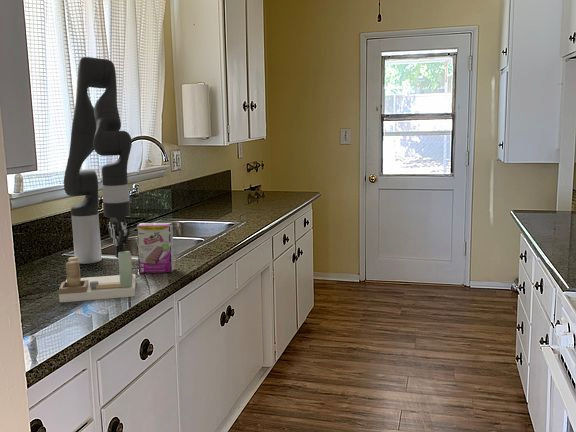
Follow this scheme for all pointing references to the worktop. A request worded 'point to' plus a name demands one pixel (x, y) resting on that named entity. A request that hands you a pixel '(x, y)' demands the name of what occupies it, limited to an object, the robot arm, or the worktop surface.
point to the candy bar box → (155, 247)
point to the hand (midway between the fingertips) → (119, 257)
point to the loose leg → (73, 274)
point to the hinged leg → (123, 271)
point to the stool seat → (99, 293)
